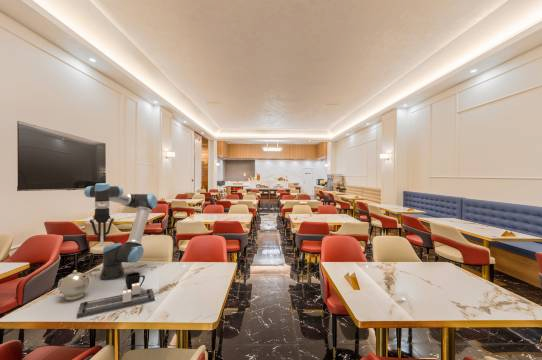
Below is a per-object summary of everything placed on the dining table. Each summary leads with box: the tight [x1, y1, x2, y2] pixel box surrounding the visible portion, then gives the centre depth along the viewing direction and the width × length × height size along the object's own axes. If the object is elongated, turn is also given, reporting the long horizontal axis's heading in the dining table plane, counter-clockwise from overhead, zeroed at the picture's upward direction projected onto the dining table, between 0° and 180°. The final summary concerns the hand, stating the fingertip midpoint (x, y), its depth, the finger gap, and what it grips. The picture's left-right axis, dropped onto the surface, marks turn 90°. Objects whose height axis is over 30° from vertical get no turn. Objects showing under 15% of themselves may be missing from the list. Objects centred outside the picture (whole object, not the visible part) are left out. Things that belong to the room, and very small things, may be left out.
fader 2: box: [131, 282, 141, 295], centre depth 150 cm, size 4×4×5 cm
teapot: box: [57, 269, 90, 301], centre depth 150 cm, size 18×14×16 cm
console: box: [76, 288, 156, 319], centre depth 142 cm, size 14×36×3 cm, turn 121°
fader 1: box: [122, 289, 132, 303], centre depth 140 cm, size 4×4×5 cm
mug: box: [124, 271, 146, 292], centre depth 161 cm, size 8×12×10 cm
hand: (102, 245), depth 156 cm, fingers closed
